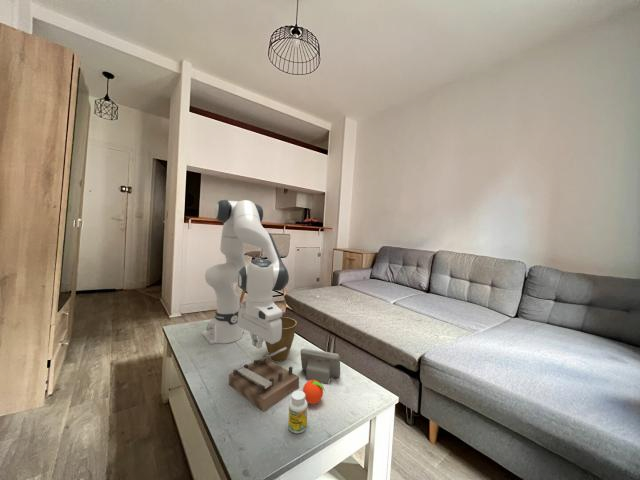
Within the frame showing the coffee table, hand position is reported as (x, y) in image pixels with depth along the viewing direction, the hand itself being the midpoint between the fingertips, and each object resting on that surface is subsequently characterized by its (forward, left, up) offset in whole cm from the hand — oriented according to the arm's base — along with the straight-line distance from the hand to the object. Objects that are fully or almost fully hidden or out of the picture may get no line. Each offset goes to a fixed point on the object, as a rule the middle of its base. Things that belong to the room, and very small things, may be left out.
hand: (256, 346), depth 84 cm
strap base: (-2, +5, -17) cm, 18 cm away
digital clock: (+10, +24, -17) cm, 31 cm away
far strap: (-3, +9, -8) cm, 13 cm away
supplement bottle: (+20, 0, -17) cm, 27 cm away
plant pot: (-13, +22, -17) cm, 30 cm away
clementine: (+17, +11, -17) cm, 27 cm away
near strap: (-2, 0, -12) cm, 12 cm away
